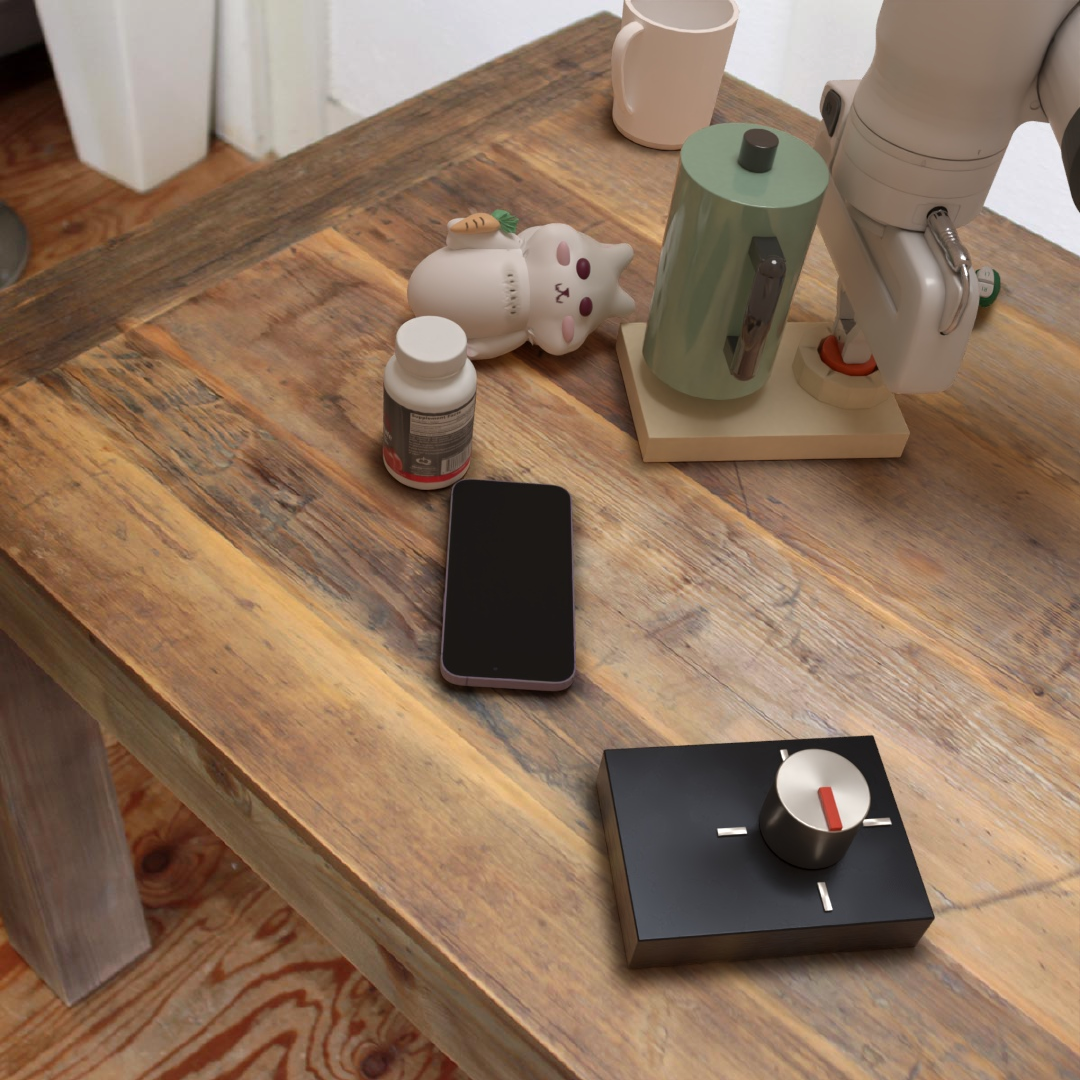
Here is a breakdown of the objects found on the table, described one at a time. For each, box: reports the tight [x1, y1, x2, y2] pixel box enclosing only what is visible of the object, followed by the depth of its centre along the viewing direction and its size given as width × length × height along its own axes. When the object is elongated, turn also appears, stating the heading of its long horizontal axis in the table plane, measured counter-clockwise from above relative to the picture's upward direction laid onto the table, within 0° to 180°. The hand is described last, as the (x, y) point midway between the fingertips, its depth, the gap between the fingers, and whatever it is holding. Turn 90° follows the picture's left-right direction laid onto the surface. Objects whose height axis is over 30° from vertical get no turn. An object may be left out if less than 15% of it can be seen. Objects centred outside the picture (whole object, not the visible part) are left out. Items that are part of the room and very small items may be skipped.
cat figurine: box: [406, 209, 637, 361], centre depth 88 cm, size 10×8×15 cm
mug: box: [610, 0, 741, 151], centre depth 106 cm, size 11×9×10 cm
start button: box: [820, 335, 876, 376], centre depth 87 cm, size 4×4×2 cm
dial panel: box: [595, 734, 936, 970], centre depth 64 cm, size 14×10×3 cm
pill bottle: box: [382, 316, 478, 491], centre depth 78 cm, size 5×5×10 cm
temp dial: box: [759, 749, 871, 869], centre depth 62 cm, size 4×4×4 cm
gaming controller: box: [974, 265, 1002, 308], centre depth 97 cm, size 9×4×6 cm
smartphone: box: [439, 478, 577, 692], centre depth 75 cm, size 7×1×15 cm
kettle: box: [642, 122, 829, 400], centre depth 79 cm, size 8×14×16 cm, turn 7°
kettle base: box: [615, 321, 911, 463], centre depth 87 cm, size 17×11×4 cm, turn 97°
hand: (848, 349), depth 86 cm, fingers closed, pressing on start button
